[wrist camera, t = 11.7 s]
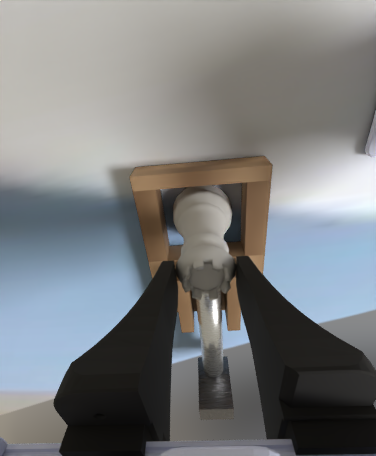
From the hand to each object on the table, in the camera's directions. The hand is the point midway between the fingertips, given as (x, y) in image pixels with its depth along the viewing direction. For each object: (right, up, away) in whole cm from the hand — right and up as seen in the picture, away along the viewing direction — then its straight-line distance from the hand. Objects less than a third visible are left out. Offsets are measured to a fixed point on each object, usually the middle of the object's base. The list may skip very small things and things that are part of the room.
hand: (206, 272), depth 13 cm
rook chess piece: (0, +4, +6) cm, 7 cm away
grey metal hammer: (+1, -7, +10) cm, 12 cm away
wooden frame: (0, +2, +7) cm, 7 cm away
